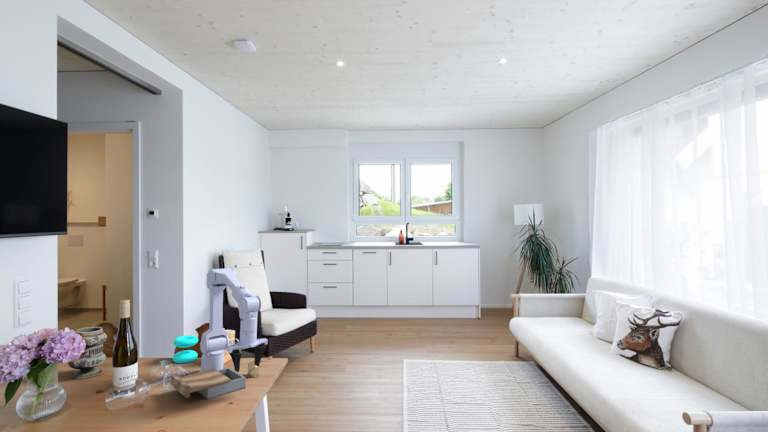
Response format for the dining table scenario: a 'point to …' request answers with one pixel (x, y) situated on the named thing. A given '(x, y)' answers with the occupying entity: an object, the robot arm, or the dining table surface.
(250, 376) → the cylinder
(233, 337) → the supplement box
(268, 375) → the dining table surface
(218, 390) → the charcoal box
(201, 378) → the box lid
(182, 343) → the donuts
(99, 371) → the apothecary jar
